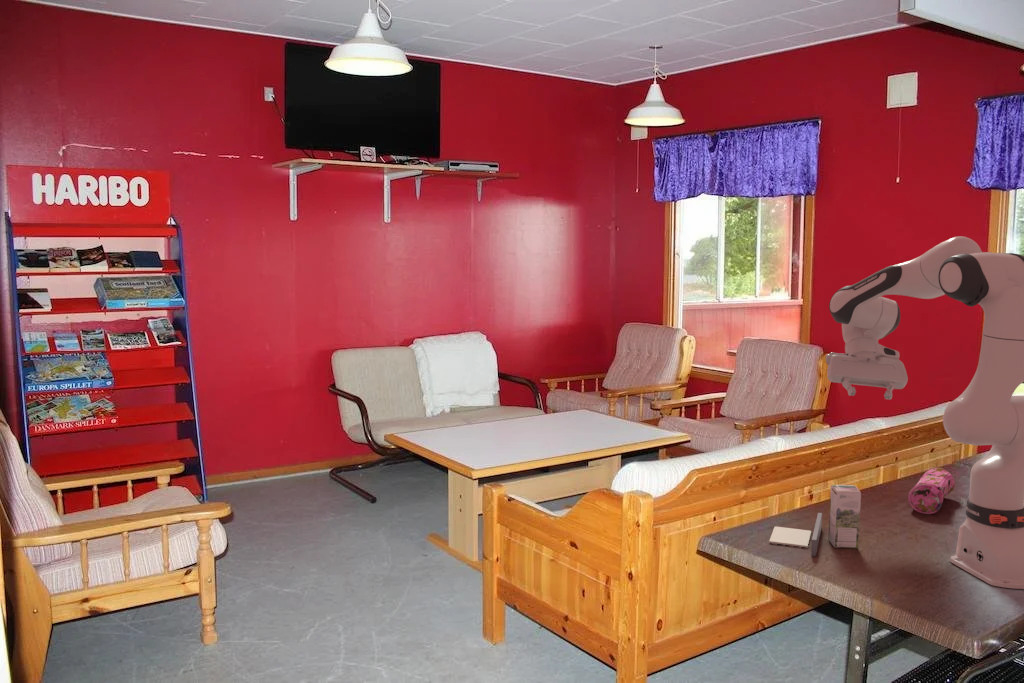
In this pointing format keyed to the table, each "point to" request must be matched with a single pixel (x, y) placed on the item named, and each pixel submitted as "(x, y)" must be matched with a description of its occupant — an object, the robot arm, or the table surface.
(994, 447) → the robot arm
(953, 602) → the table surface
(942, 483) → the pencil case
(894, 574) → the table surface
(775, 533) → the pad
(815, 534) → the low wall
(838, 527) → the syrup box
